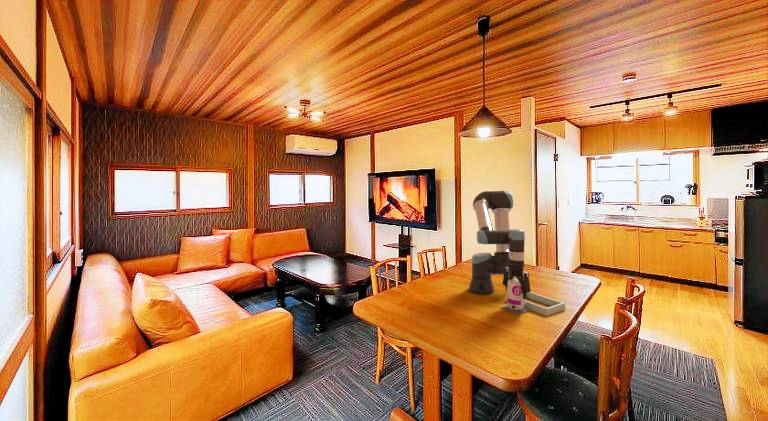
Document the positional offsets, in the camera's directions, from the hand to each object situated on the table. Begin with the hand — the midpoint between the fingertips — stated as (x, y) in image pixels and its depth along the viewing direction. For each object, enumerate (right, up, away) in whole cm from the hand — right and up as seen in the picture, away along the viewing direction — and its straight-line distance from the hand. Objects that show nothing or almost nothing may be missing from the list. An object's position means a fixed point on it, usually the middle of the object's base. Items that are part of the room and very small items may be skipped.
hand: (515, 301), depth 159 cm
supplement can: (0, -3, 0) cm, 3 cm away
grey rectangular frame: (+13, -4, +6) cm, 15 cm away
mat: (0, -4, 0) cm, 4 cm away
